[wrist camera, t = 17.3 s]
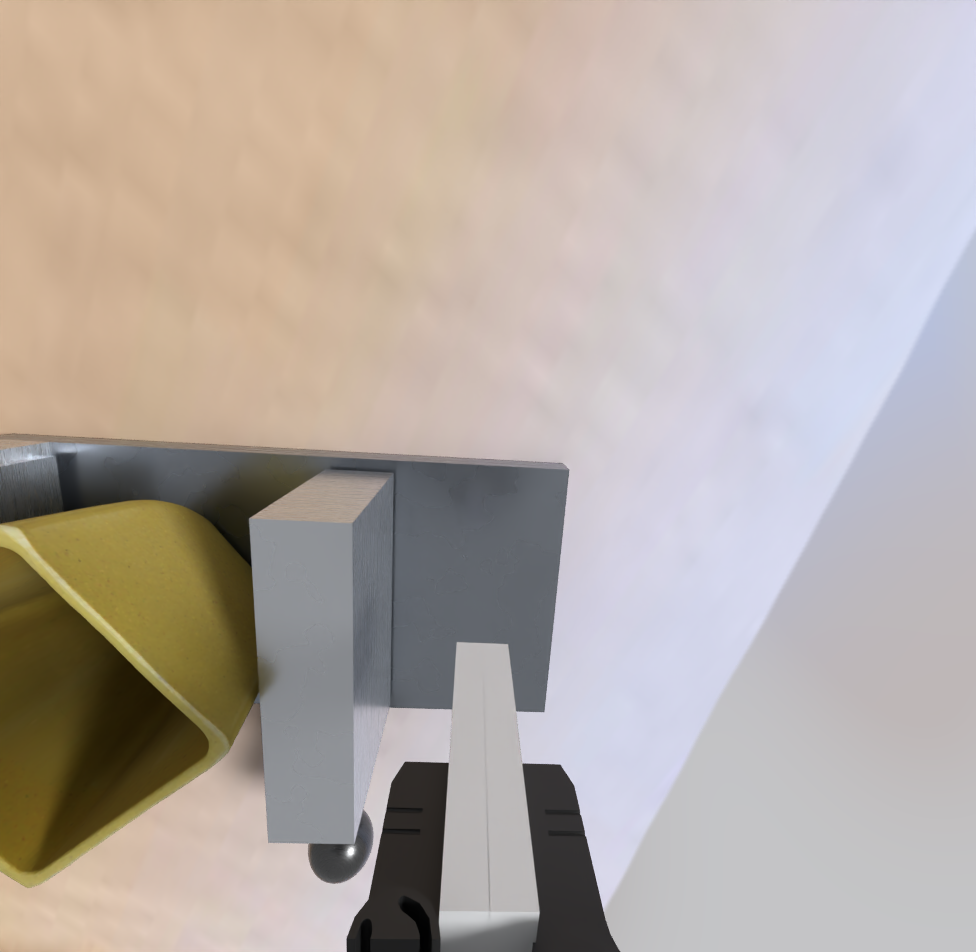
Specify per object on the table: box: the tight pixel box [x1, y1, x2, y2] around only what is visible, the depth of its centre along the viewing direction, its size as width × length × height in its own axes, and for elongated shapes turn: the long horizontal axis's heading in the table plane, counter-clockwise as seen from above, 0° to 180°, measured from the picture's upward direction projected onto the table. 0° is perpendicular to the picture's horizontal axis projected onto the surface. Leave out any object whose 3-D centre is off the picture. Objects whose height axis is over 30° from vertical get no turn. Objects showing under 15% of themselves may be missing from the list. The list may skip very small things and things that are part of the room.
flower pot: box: [0, 500, 259, 888], centre depth 17 cm, size 9×9×9 cm
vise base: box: [0, 434, 569, 712], centre depth 19 cm, size 13×26×8 cm, turn 87°
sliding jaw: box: [249, 469, 394, 884], centre depth 19 cm, size 18×4×7 cm, turn 177°
